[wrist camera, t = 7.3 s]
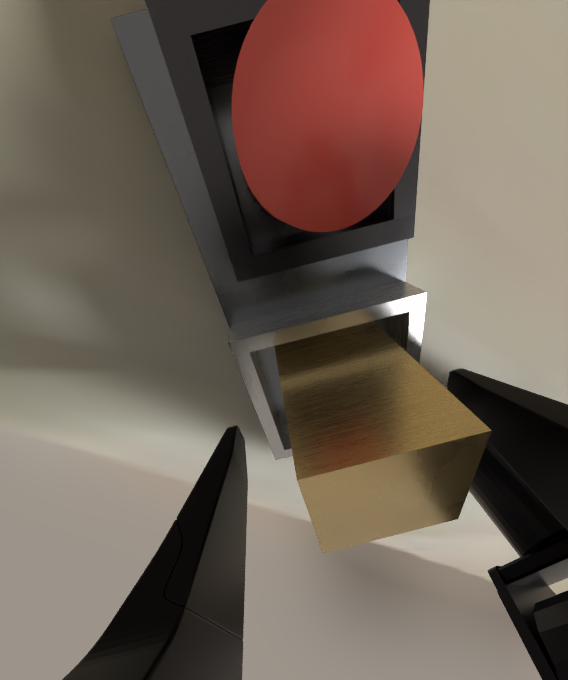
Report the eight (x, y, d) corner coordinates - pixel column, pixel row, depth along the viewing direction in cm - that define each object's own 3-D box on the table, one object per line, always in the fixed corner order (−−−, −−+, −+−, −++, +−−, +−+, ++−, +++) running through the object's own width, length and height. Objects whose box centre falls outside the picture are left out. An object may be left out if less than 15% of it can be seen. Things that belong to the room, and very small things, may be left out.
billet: (372, 391, 13) (458, 519, 7) (293, 412, 13) (323, 553, 7) (371, 319, 10) (492, 430, 5) (273, 344, 10) (297, 480, 5)
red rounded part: (364, 209, 7) (416, 210, 5) (258, 236, 7) (261, 249, 5) (358, 48, 5) (434, -65, 3) (219, 83, 5) (197, -3, 3)
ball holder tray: (393, 399, 14) (422, 439, 12) (272, 430, 14) (276, 476, 12) (409, -39, 6) (519, -208, 4) (122, 35, 6) (33, -85, 4)
